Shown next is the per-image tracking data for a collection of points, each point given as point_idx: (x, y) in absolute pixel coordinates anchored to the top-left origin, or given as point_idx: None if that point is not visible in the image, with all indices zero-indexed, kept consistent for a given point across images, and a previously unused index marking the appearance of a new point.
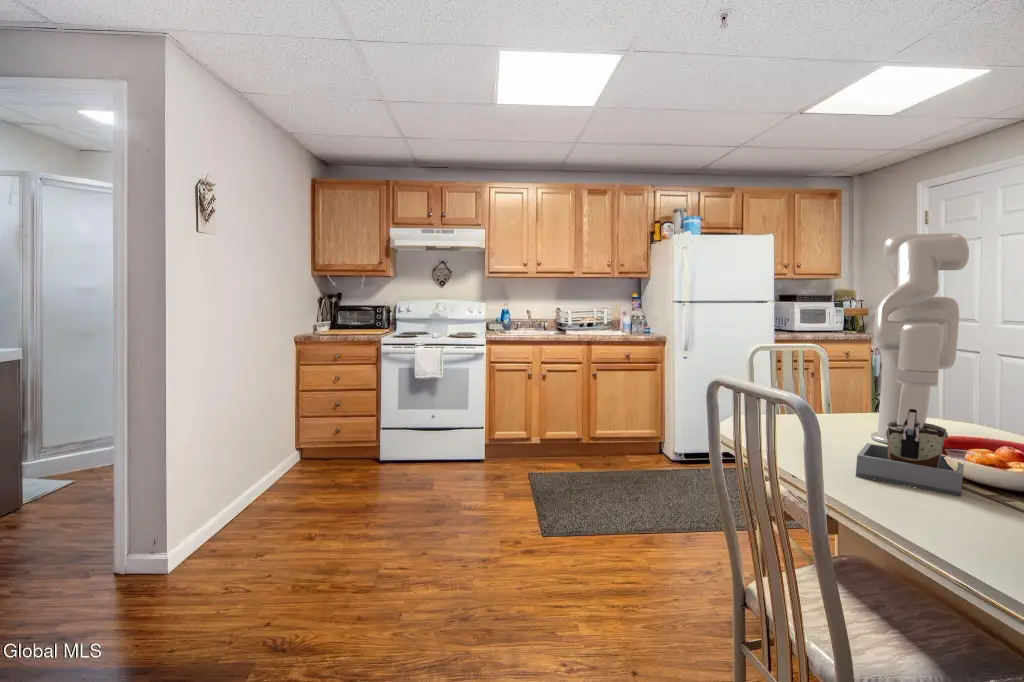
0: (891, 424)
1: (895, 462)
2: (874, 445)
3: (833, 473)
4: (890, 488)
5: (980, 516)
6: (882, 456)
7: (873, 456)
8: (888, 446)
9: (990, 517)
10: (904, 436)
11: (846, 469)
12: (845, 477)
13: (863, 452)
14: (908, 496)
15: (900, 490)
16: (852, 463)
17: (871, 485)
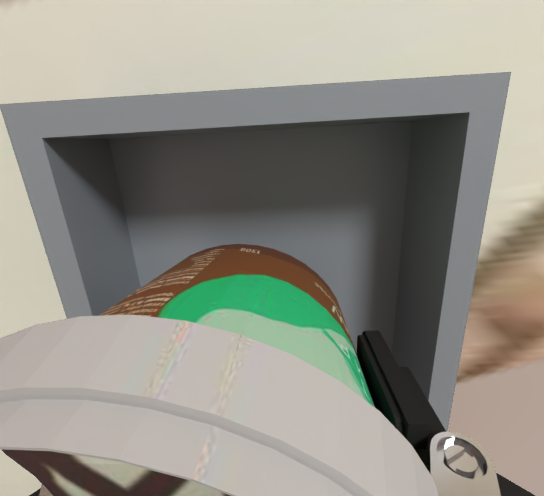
0: (233, 449)
1: (68, 315)
2: (465, 137)
3: (40, 4)
4: (50, 266)
5: (16, 467)
6: (422, 186)
7: (422, 137)
8: (122, 301)
9: (33, 482)
10: (43, 490)
11: (188, 44)
12: (27, 80)
13: (132, 122)
14: (11, 324)
15: (59, 296)
16: (352, 39)
17: (17, 203)
